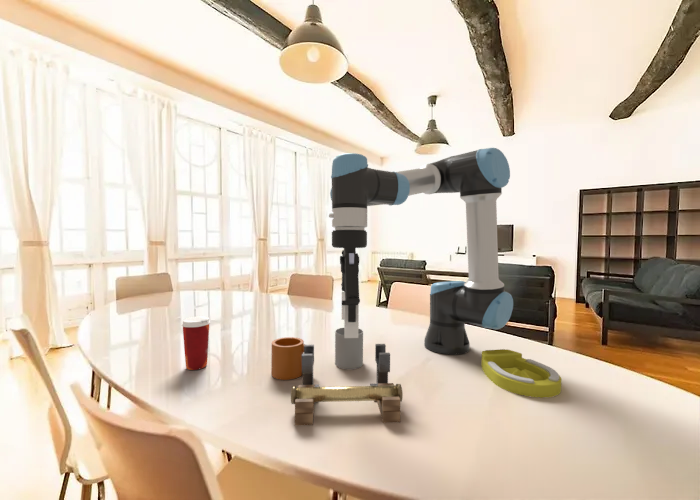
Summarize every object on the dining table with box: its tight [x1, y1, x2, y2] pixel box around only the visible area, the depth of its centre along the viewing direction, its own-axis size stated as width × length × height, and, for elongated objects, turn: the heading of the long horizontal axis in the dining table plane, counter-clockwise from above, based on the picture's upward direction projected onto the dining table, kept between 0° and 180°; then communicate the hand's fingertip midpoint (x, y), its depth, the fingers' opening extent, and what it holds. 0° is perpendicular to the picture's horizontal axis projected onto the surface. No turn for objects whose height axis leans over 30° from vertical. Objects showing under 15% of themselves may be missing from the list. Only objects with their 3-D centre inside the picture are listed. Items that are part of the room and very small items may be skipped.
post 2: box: [369, 343, 391, 386], centre depth 78 cm, size 5×7×11 cm
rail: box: [290, 383, 404, 405], centre depth 70 cm, size 24×4×4 cm
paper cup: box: [181, 315, 211, 371], centre depth 94 cm, size 8×8×14 cm
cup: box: [334, 327, 364, 370], centre depth 96 cm, size 8×8×10 cm
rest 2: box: [376, 382, 401, 424], centre depth 69 cm, size 4×8×5 cm, turn 3°
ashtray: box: [480, 348, 562, 399], centre depth 86 cm, size 16×21×5 cm
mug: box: [270, 336, 315, 381], centre depth 89 cm, size 9×12×9 cm
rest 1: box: [294, 384, 316, 427], centre depth 68 cm, size 4×8×5 cm, turn 3°
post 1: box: [302, 344, 320, 387], centre depth 77 cm, size 5×7×11 cm
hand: (349, 327), depth 69 cm, fingers open, 13 cm apart
